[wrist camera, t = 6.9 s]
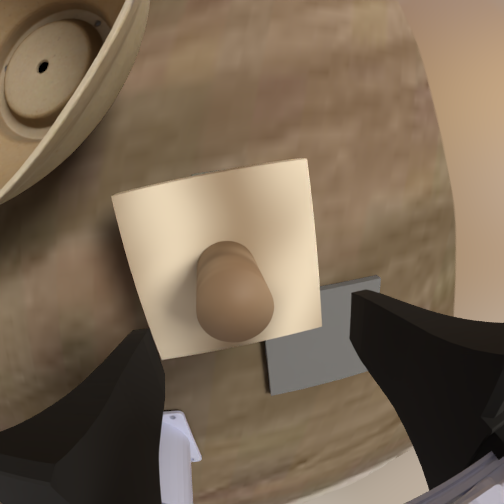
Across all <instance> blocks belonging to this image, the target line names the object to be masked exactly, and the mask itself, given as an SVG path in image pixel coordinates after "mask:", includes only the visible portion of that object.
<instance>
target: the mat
mask: <svg viewBox="0 0 504 504" xmlns="http://www.w3.org/2000/svg"><path fill="white" fill-rule="evenodd" d="M380 281H381V278H380V277H379V276H377V275H375V276H370V277H365V278H360V279H356V280H351V281H346V282H341V283H336V284H331V285H326V286H320V300H321V318H322V327H318V328H314V329H311V330H307V331H303V332H299V333H295V334H291V335H287V336H282V337H278V338H274V339H269V340H265V350H266V359H267V368H268V378H269V387H270V393H271V396H272V395H277V394H282V393H286V392H291V391H295V390H300V389H304V388H308V387H312V386H316V385H320V384H324V383H328V382H332V381H335V380H339V379H342V378H346V377H349V376H353V375H356V374H359V373H363V372H366V371H368V370H367V369H366V367H365V366H364V364H363V363H362V361H361V360H360V358H359V357H358V355H357V353H356V351H355V349H354V347H353V345H352V343H351V341H350V339H349V336H350V317H351V293H352V292H356V291H361V290H365V289H367V290H371V291H375V292H378V293H380Z"/></svg>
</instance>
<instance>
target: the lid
mask: <svg viewBox="0 0 504 504" xmlns="http://www.w3.org/2000/svg"><path fill="white" fill-rule="evenodd" d="M111 197H112V202H113V206H114V210H115V214H116V218H117V222H118V226H119V230H120V234H121V238H122V241H123V245H124V249H125V252H126V256H127V259H128V263H129V266H130V270H131V273H132V276H133V279H134V283H135V286H136V289H137V292H138V295H139V298H140V301H141V304H142V307H143V310H144V313H145V316H146V319H147V322H148V324H149V327H150V330H151V333H152V335H153V338H154V341H155V344H156V346H157V349H158V351H159V354H160V357H161V359H162V360H164V359H171V358H177V357H183V356H189V355H195V354H201V353H206V352H212V351H217V350H222V349H227V348H232V347H237V346H242V345H247V344H251V343H256V342H261V341H265V340H269V339H274V338H278V337H282V336H287V335H291V334H295V333H299V332H303V331H307V330H311V329H314V328H318V327H322V318H321V300H320V285H319V271H318V258H317V246H316V235H315V225H314V215H313V205H312V196H311V188H310V179H309V171H308V163H307V159H304V158H298V159H290V160H283V161H276V162H269V163H263V164H256V165H250V166H244V167H238V168H232V169H227V170H221V171H216V172H210V173H205V174H200V175H195V176H190V177H185V178H180V179H176V180H171V181H166V182H162V183H158V184H153V185H149V186H145V187H140V188H136V189H132V190H128V191H124V192H120V193H117V194H115V195H113V196H111Z"/></svg>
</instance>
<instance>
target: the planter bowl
mask: <svg viewBox="0 0 504 504" xmlns="http://www.w3.org/2000/svg"><path fill="white" fill-rule="evenodd" d="M149 4H150V0H0V204H2V203H4V202H6V201H8V200H10V199H12V198H14V197H15V196H17V195H18V194H20V193H22V192H23V191H25V190H26V189H28V188H30V187H31V186H33V185H34V184H35V183H37V182H38V181H40V180H41V179H42V178H44V177H45V176H46V175H48V174H49V173H50V172H51V171H53V170H54V169H55V168H56V167H57V166H59V165H60V164H61V163H62V162H63V161H64V160H65V159H66V158H67V157H69V156H70V155H71V154H72V153H73V152H74V151H75V150H76V149H77V148H78V147H79V146H80V144H81V143H82V142H83V141H84V140H85V139H86V138H87V137H88V136H89V134H90V133H91V132H92V131H93V130H94V128H95V127H96V126H97V125H98V123H99V122H100V121H101V120H102V118H103V117H104V115H105V114H106V112H107V111H108V110H109V108H110V107H111V105H112V104H113V102H114V100H115V99H116V97H117V95H118V94H119V92H120V90H121V88H122V87H123V85H124V83H125V81H126V79H127V77H128V75H129V73H130V71H131V69H132V66H133V64H134V61H135V59H136V56H137V54H138V51H139V48H140V45H141V42H142V38H143V35H144V31H145V27H146V22H147V17H148V11H149ZM43 62H47V63H48V67H47V69H46V71H44V72H43V73H40V72H39V66H40V65H41V64H42V63H43Z"/></svg>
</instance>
